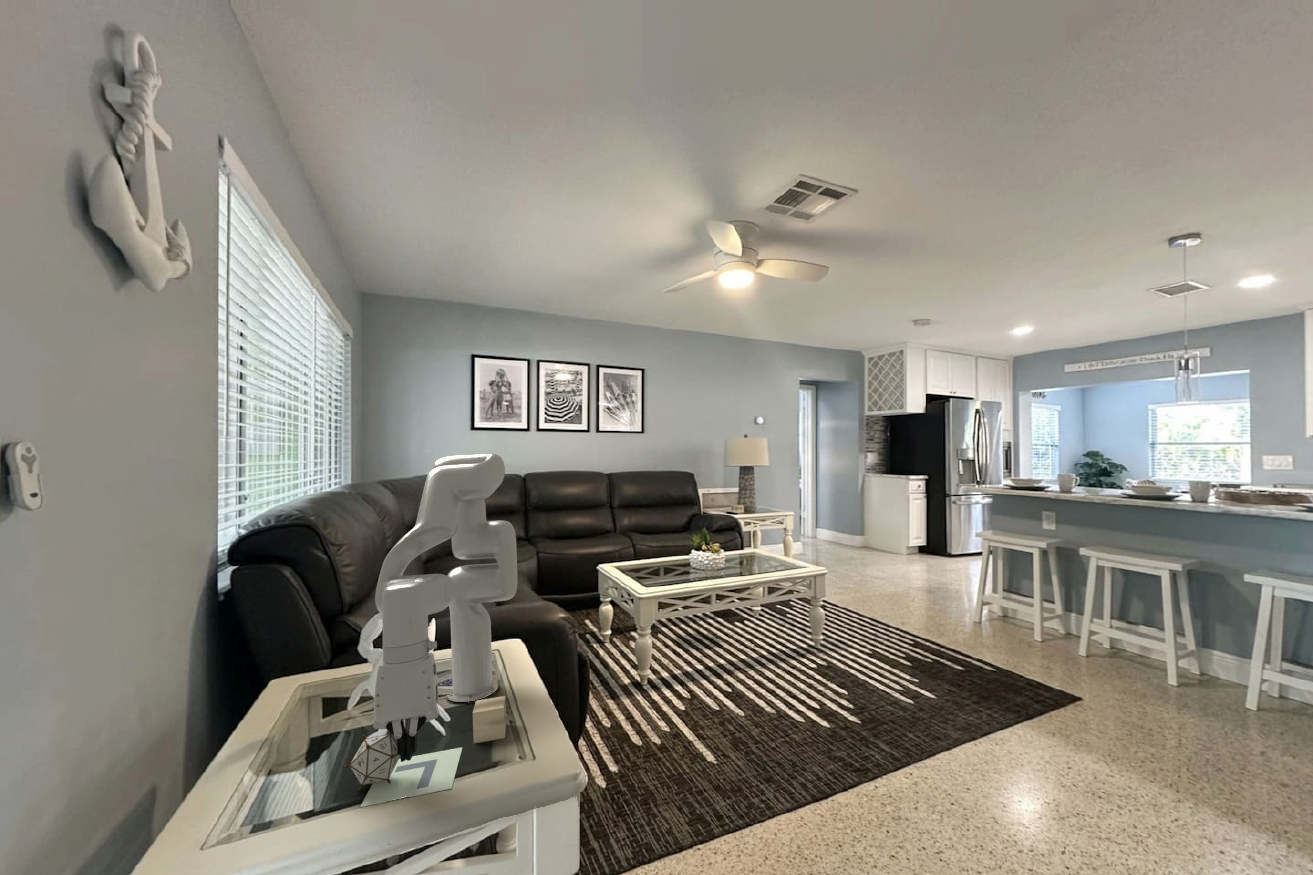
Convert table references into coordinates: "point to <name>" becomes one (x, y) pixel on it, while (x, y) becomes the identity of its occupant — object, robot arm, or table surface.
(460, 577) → the robot arm
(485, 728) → the cube
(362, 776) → the game die
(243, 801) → the table surface
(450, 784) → the letter card
